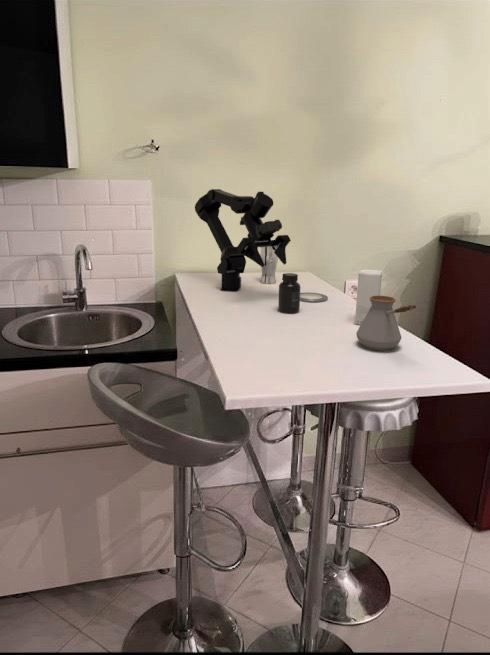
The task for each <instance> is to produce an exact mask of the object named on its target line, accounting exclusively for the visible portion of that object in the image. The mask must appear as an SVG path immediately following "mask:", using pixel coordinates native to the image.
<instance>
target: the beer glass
mask: <svg viewBox="0 0 490 655" xmlns="http://www.w3.org/2000/svg"><path fill="white" fill-rule="evenodd" d="M274 252H275V250H273V248H272V247H260V252H259V254H260V256H261V258H262V260H263V263H264V266H263V267H261V266H260V267H261V277H260V278H261V279H260V283H261V284H263V285H264V284H265V285H275V284H276V283H277V281H276V280H277V279H276V270H277V265H278V260H279V258H278V257H277V256H276V254H275V253H274Z"/></svg>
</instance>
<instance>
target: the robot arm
mask: <svg viewBox="0 0 490 655" xmlns="http://www.w3.org/2000/svg"><path fill="white" fill-rule="evenodd" d="M222 205H224V206H227V207H229V208H230V210H231V211H232V212H234V213H235V214H239V215H240V214H243V215H242V216H241V218H240V221H239V225H240V226H245V228H246V230H247V232H248V233H247V236H246V237H242V239H241V241H239V243H238V245H237V246H234V245H233V242H232V240H231V239H230V237H229V235H228V232H227V231H226V229H225V227H224V225H223V223H222V221H221V219H220V217H219V215H220V214H219V213H220V208H221V207H222ZM273 206H274V200H273V198H271V197H270V196H269V195H268V194H266V193H265V192H264V191H258V192H257V193H256V194H255V196H254V197H253V196H251V195H236V194H233V193H231V192H227V191H224V190H223V189H219V188H217V189H216V188H215V189H214V188H211V189H208V191H207V193H206V194H204V195H202V196H201V197H199V199H198V200H197V201H196V203H195V204H194V211H195V213H196V216H198V217H199V219H200V220H201V221H203V222H205V223H206V224H207V227H208V228H209V230H210V232H211V234H212V236H213V238H214V240H215V243H216V244H217V246H218V248H219V250H220V253H221V254H220V262H219V264H218V266H217V267H216V268H217V274H220V275H221V287H220V289H219V290H220V291H223V292H238V291H240V289H241V287H242V277H241V276H240V275H241V274H244V272H245V269H246V265H247V258H248V259H250V260H251V261H252V262H254V263H256V264H257V265H259V266H260V267H263V266H264V263H263V260H262V258H261V256H260V252H259V248H261V247H272V248H273V250H275V252H274V253H275V254H276V256H277V257H278V260H279V261H280V262H281V263H282V264H283V265H286V264H287V255H286V254H287V253H286V248H287V246H288V244H290V242H291V238H290V236H289V235H288V234H278V235H276V237H275V238H274V239H272V238H273V237H274V233H276V232H280V230H281V229H283V225H282V222H281V221H280V219H274V220H270V221H269V220H268V221H265V222H263V220H262V219H264V218H265V217H266V216H267V215H268V213H269V212H270V210H271V209H272V207H273Z"/></svg>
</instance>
